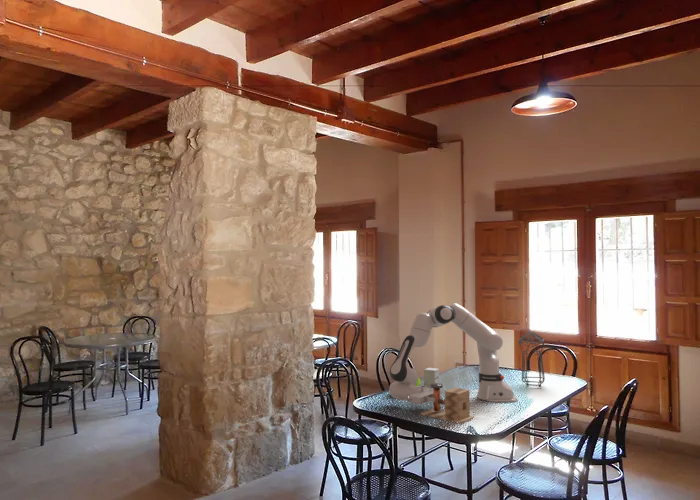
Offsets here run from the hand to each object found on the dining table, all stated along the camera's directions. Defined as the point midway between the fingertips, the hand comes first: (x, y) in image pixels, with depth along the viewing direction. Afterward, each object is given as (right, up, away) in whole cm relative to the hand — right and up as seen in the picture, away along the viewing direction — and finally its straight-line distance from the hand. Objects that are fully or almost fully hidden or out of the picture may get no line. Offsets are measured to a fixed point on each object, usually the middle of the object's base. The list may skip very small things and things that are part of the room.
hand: (438, 398), depth 262 cm
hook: (+4, -6, -4) cm, 8 cm away
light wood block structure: (+4, -8, -4) cm, 9 cm away
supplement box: (+5, -10, +54) cm, 55 cm away
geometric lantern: (+70, -10, +61) cm, 93 cm away
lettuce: (-9, -10, +43) cm, 45 cm away
